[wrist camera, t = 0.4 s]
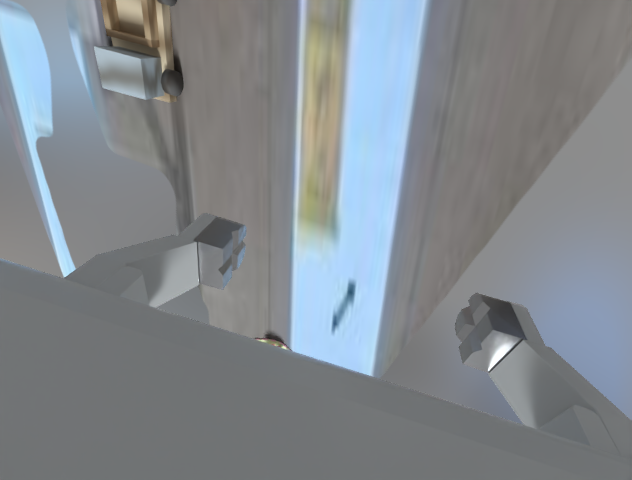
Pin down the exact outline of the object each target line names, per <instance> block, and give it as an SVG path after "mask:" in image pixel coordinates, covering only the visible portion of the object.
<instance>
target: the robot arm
mask: <svg viewBox="0 0 632 480" xmlns="http://www.w3.org/2000/svg"><path fill="white" fill-rule="evenodd" d="M245 236H246V226H245V225H243V224H240V223H237V222H234V221H231V220H227V219H224V218H221V217H217V216H214V215H211V214H208V213H203V214H201V215H200V216H199V217H198V218H197V219H196V220H195V221H194V222H192V223H191V224H190V225H189V226H188V227H187V228H186V229H185V230H183V231H182V232H181V233H180V234H179V235H178V236H176V235H171V236H167V237H163V238H159V239H155V240H152V241H148V242H144V243H140V244H137V245H132V246H129V247H125V248H121V249H117V250H114V251H110V252H106V253H102V254H98V255H96V256H94V257H93V258H92V259H90V260H89V261H87V262H86V263H85V264H83V265H82V266H80V267H79V268H78V269H76V270H75V271H73V272H72V273H70V274H69V275H68V276H66V277H65V278H61V277H57V276H54V275H51V274H48V273H45V272H41V271H38V270H35V269H32V268H29V267H26V266H23V265H20V264H17V263H13V262H10V261H7V260H4V259H1V258H0V480H632V421H631V420H630V419H629V418H628V417H627V416H626V415H625V414H624V413H622V412H621V411H620V410H619V409H618V408H617V407H616V406H615V405H614V404H613V403H611V402H610V401H609V400H608V399H607V398H606V397H604V395H603V394H601V393H600V392H599V391H598V390H597V389H596V388H595V387H593V386H592V385H591V384H590V383H589V382H588V381H587V380H586V379H585V378H584V377H583V376H582V375H580V374H579V373H578V372H577V371H576V370H575V369H574V368H573V367H572V366H570V365H569V364H568V363H567V362H566V361H565V360H564V359H563V358H561V356H559V355H558V354H557V353H556V352H555V351H554V350H553V349H552V348H550V347H547V346H545V344H544V342H543V340H542V338H541V336H540V334H539V332H538V330H537V328H536V326H535V324H534V322H533V320H532V318H531V316H530V314H529V312H528V310H527V308H526V307H524V306H523V305H520V304H516V303H512V302H508V301H503V300H500V299H496V298H492V297H489V296H486V295H482V294H479V293H475V294H474V295H472V296H471V298H470V299H469V305H470V306H469V307H466V308H464V309H462V310H461V312H460V313H459V314H458V317H457V320H456V323H455V330H456V335H457V337H458V338H459V339H460V340H461V342H462V344H461V345H460V346H459V349H460V354H461V359H462V363H463V364H464V365H467V366H470V367H473V368H476V369H479V370H482V371H485V372H488V373H489V376H490V377H491V379H492V380H493V381H494V383H495V384H496V386H497V387H498V389H499V390H500V391H501V393H502V394H503V395H504V397H505V399H506V400H507V401H508V403H509V404H510V406H511V407H512V409H513V410H514V412H515V413H516V414H517V416H518V417H519V419H520V420H521V422H522V423H523V424H524V425H522V424H519V423H516V422H513V421H510V420H507V419H503V418H500V417H497V416H494V415H491V414H488V413H485V412H481V411H478V410H475V409H472V408H468V407H465V406H463V405H459V404H456V403H453V402H450V401H446V400H444V399H441V398H438V397H434V396H431V395H428V394H425V393H422V392H419V391H416V390H413V389H409V388H406V387H403V386H400V385H397V384H394V383H390V382H387V381H384V380H381V379H378V378H375V377H372V376H369V375H365V374H362V373H359V372H356V371H353V370H350V369H347V368H343V367H340V366H337V365H334V364H331V363H328V362H325V361H321V360H318V359H315V358H312V357H309V356H306V355H303V354H299V353H296V352H293V351H290V350H287V349H284V348H281V347H277V346H274V345H271V344H268V343H265V342H262V341H259V340H255V339H252V338H249V337H246V336H243V335H240V334H237V333H233V332H230V331H227V330H224V329H221V328H218V327H215V326H211V325H208V324H205V323H202V322H199V321H196V320H192V319H189V318H186V317H183V316H180V315H177V314H173V313H170V312H167V311H164V310H161V309H158V308H156V307H157V306H159V305H161V304H163V303H165V302H167V301H169V300H171V299H173V298H175V297H177V296H178V295H180V294H182V293H184V292H186V291H188V290H190V289H192V288H194V287H196V286H198V285H199V283H200V284H203V285H207V286H210V287H214V288H217V289H221V290H223V289H224V287H225V286H226V285H227V283H228V282H229V280H230V279H231V277H232V271H234V270H236V269H238V267H239V266H240V264H241V262H242V259H243V257H244V253H245V243H244V242H243V239H244V237H245Z"/></svg>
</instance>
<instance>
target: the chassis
mask: <svg viewBox="0 0 632 480" xmlns="http://www.w3.org/2000/svg"><path fill="white" fill-rule="evenodd" d="M176 2H177V0H101V6H102V11H103V17H104V22H105V28H106V33H107V36H110V37H111V38H112V44H113V46H96V47H94V49H95V54H96V59H97V63H98V68H99V73H100V78H101V83H102V87H103V88H105V89H109V90H112V91H116V92H120V93H123V94H127V95H130V96H134V97H138V98H141V99H145V100H147V99H151V98H155V99H158V100H162V101H166V102H169V103H171V102H175V101H177V99H176V96H179V95H180V94H181V92H182V90H183V78H182V76H181V74H180V73H179V72H178V71H174V59H173V46H172V32H171V19H170V6H174V5H175V4H176Z"/></svg>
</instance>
